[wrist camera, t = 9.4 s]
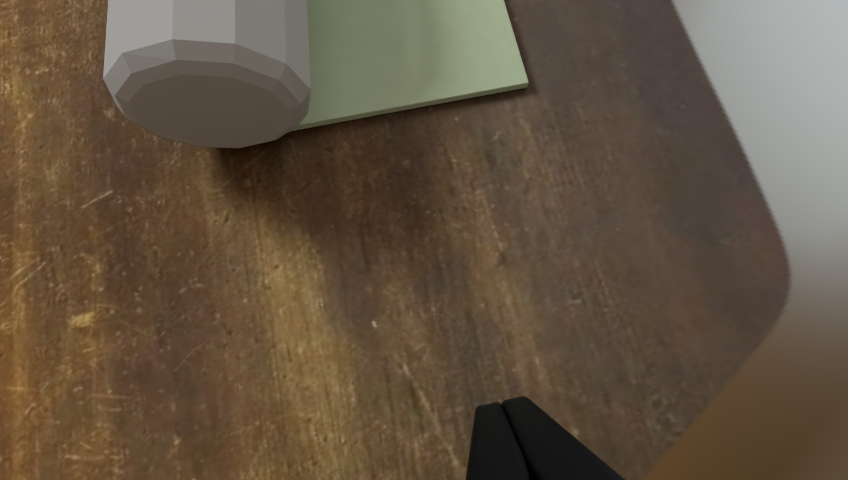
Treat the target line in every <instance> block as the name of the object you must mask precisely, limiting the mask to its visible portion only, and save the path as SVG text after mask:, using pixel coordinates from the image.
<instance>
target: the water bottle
mask: <svg viewBox="0 0 848 480" xmlns="http://www.w3.org/2000/svg"><path fill="white" fill-rule="evenodd" d="M103 79H104V81H105V83H106V85H107V87H108V89H109V91H110V93H111V95H112V97H113V99H114V101H115V103H116V105H117V107H118V108H119V109H120V111H121V112H122V113H123V114H124V116H125V117H126V118H127V119H129V120H130V121H132V122H134V123H136V124H137V125H139V126H141V127H143V128H144V129H146V130H148V131H150V132H151V133H153V134H155V135H157V136H159V137H162V138H165V139H169V140H173V141H177V142H181V143H185V144H190V145H194V146H198V147H209V148H242V147H246V146H251V145H256V144H260V143H265V142H269V141H274V140H277V139H279V138H280V137H281V136H283V135H284V134H286V133H287V132H289V131H290V130H292V129H293V128H295V127H296V126H297V125H299V124H300V122H301V121H302V120H303V119H304V118H305V116H306V115H307V114H308V107H309V100H310V92H311V84H310V61H309V39H308V16H307V0H108V12H107V28H106V43H105V59H104V74H103Z"/></svg>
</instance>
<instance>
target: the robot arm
mask: <svg viewBox="0 0 848 480" xmlns="http://www.w3.org/2000/svg"><path fill="white" fill-rule="evenodd" d="M466 480H625V479H623V478H622V477H621V476H620V475H619V474H617V473H616V472H615V471H614V470H613V469H612V468H610V467H609V466H608V465H607V464H606V463H604V462H603V461H602V460H601V459H600V458H598V457H597V456H596V455H595V454H594V453H593V452H591V451H590V450H589V449H588V448H587V447H585V446H584V445H583V444H582V443H581V442H579V441H578V440H577V439H576V438H575V437H574V436H572V435H571V434H570V433H569V432H568V431H566V430H565V429H564V428H563V427H562V426H560V425H559V424H558V423H557V422H556V421H555V420H553V419H552V418H551V417H550V416H549V415H547V414H546V413H545V412H544V411H543V410H541V409H540V408H539V407H538V406H537V405H536V404H534V403H533V402H532V401H531V400H530V399H528V398H527V397H524V396H522V397H517V398H513V399H508V400H504V401H503V402H502V404H500V403H498V402H494V403H490V404H485V405H481V406H478V407H477V408H476V410H475V416H474V423H473V431H472V438H471V445H470V453H469V460H468V467H467V475H466Z"/></svg>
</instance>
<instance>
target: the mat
mask: <svg viewBox="0 0 848 480" xmlns="http://www.w3.org/2000/svg"><path fill="white" fill-rule="evenodd" d="M307 16H308V39H309V61H310V84H311V92H310V100H309V107H308V114H307V115H306V116H305V118H304V119H303V120H302V121H301V122H300V124H299V125H297V126H296V127H295V128H293V129H292V130H290V131H295V130H300V129H305V128H311V127H316V126H322V125H327V124H333V123H338V122H343V121H349V120H354V119H360V118H365V117H370V116H376V115H381V114H387V113H392V112H397V111H403V110H408V109H414V108H419V107H424V106H430V105H435V104H441V103H446V102H451V101H457V100H462V99H468V98H473V97H478V96H484V95H489V94H495V93H500V92H505V91H511V90H516V89H522V88H527V87H528V83H529V82H528V79H527V75H526V72H525V69H524V65H523V62H522V59H521V55H520V52H519V49H518V46H517V42H516V39H515V36H514V32H513V29H512V26H511V22H510V19H509V16H508V12H507V9H506V6H505V3H504V0H307Z"/></svg>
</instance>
